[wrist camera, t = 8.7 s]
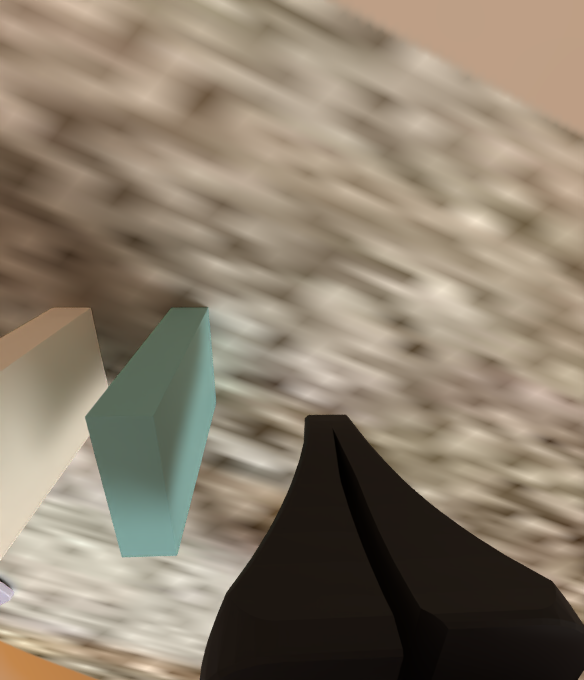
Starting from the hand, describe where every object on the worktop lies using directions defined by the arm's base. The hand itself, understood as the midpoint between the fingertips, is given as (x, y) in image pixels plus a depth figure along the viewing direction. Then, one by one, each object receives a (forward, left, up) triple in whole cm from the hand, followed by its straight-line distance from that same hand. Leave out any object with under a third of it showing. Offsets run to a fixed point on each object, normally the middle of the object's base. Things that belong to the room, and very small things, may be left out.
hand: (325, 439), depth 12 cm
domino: (-9, +5, -6) cm, 12 cm away
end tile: (-5, +3, -6) cm, 8 cm away
